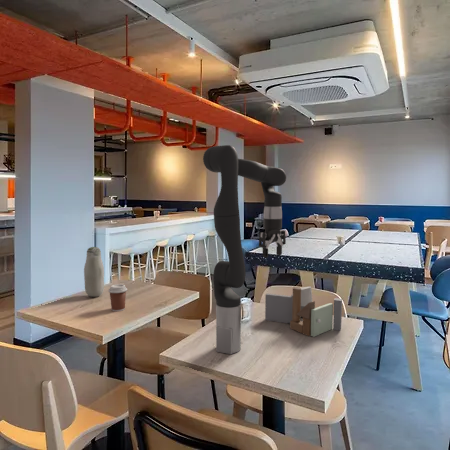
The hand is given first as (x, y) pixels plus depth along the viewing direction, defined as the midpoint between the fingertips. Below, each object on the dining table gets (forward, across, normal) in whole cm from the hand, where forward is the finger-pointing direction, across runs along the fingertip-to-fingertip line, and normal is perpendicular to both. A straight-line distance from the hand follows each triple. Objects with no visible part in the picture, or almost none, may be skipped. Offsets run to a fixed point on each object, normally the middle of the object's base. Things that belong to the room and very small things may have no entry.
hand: (272, 256), depth 161 cm
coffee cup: (+32, -34, +71) cm, 85 cm away
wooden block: (+32, +9, -9) cm, 35 cm away
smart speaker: (+32, +27, +4) cm, 42 cm away
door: (+32, +14, -16) cm, 38 cm away
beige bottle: (+32, -33, +102) cm, 112 cm away
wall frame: (+32, +16, -4) cm, 36 cm away
